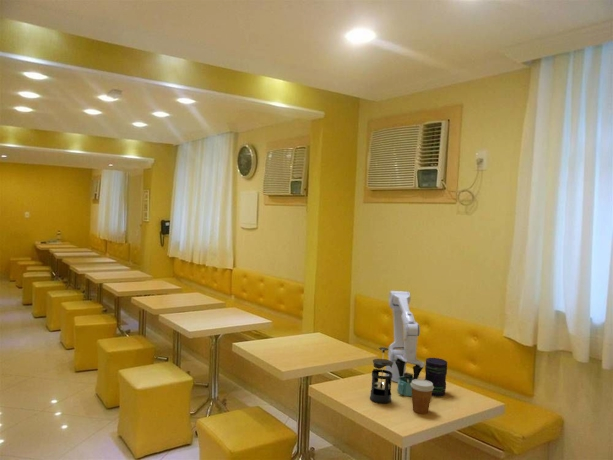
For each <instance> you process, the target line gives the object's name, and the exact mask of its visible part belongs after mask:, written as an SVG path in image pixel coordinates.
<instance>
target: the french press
mask: <svg viewBox="0 0 613 460" xmlns="http://www.w3.org/2000/svg"><path fill="white" fill-rule="evenodd" d="M378 349H379V350H380V351H382V358H375V359H372V363H373V364H372V365H373V369H372V371H371V379H372V380H371V388H370V389H371V390H370V396H369V399H370V401H371V402H372V403H376V404H380V405H381V404H382V405H385V404H386V405H387V404H390V403H391V402H392V392H391V391H392V380H391V378H392V375H393V374H392V372H390V371H387V370H386V369H384V367H385V368H386V366H390V367H391V368H392V365H393V362H392V361H390V360H389V359H386V358H384V356H385V351H389V347H384V346H382V347H378ZM380 373H381V375H380ZM385 373H387V374H389V376H385V375H383V374H385ZM379 379H380V381H379ZM383 380H384V381H385V382H383Z"/></svg>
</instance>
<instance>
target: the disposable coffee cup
mask: <svg viewBox="0 0 613 460" xmlns="http://www.w3.org/2000/svg"><path fill="white" fill-rule="evenodd" d="M411 387H412V396H411V398H412V399H411V402H412V411H413V412H415V413H416V414H419V415H420V414H421V415H425V414H428V413H429V411H430V410H429V409H430V403H431V399H432V396H431V395H432V390H433V389H434V386H433V383H432V382H430V381H427V380H425V379H422V378H418V379H414V380H412V382H411Z"/></svg>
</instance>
